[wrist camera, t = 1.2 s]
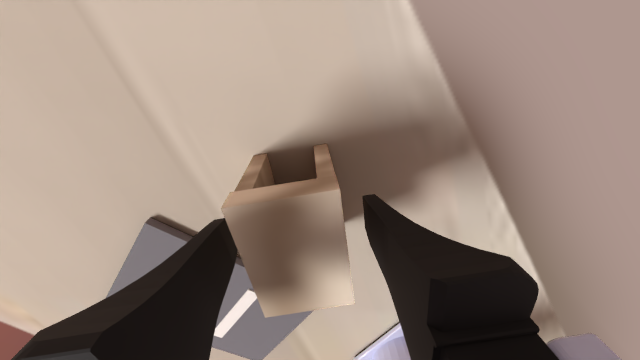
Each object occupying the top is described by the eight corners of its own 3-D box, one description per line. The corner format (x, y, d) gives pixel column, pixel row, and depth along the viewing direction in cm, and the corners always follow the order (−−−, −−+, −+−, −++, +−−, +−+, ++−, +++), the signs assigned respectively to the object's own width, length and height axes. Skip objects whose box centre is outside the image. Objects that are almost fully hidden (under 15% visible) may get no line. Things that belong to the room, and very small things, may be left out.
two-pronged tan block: (326, 140, 14) (339, 189, 9) (338, 226, 17) (354, 304, 12) (252, 152, 14) (220, 208, 9) (277, 236, 17) (265, 317, 12)
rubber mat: (322, 295, 20) (322, 303, 19) (260, 355, 23) (259, 363, 23) (150, 217, 16) (143, 224, 15) (104, 304, 19) (97, 312, 18)
